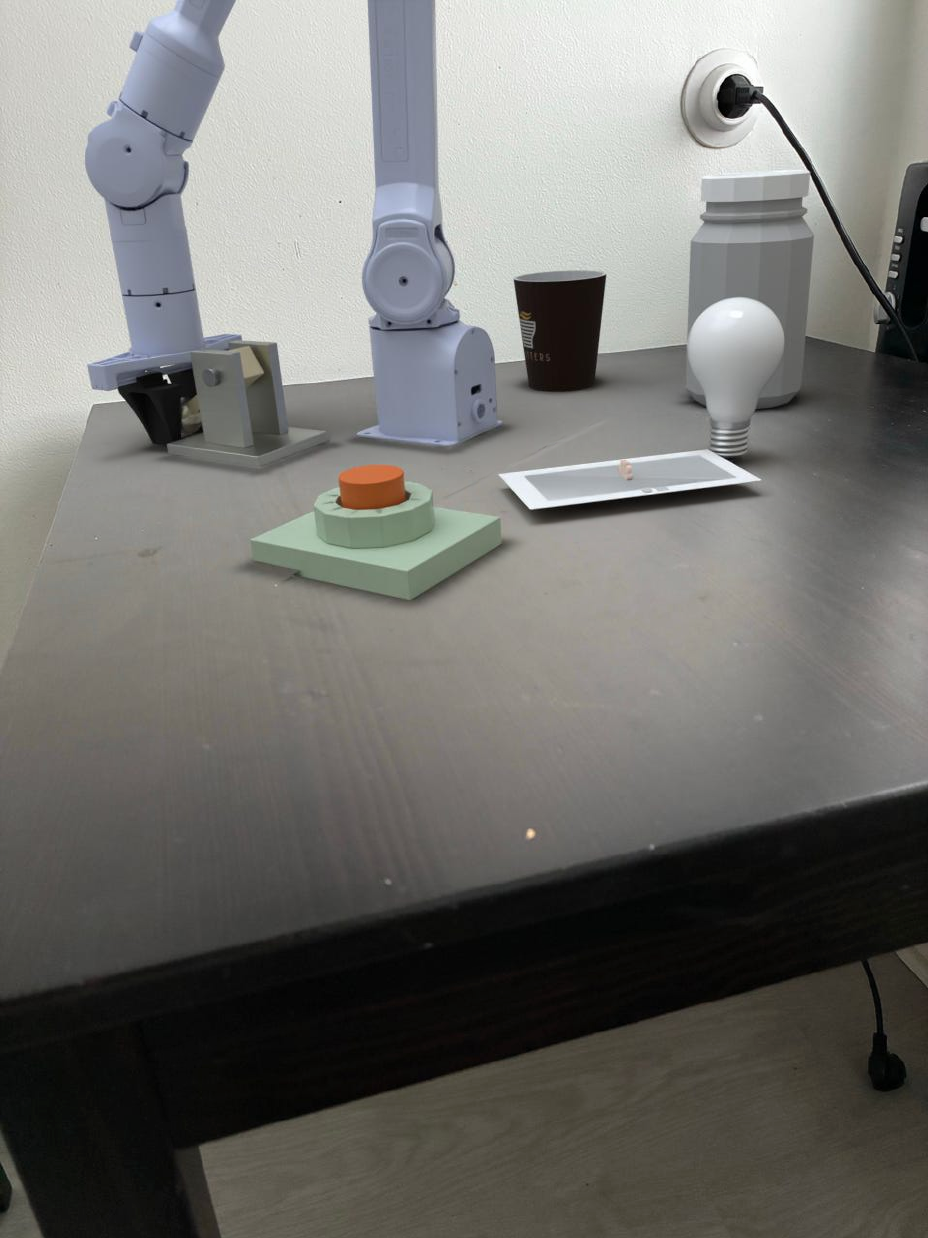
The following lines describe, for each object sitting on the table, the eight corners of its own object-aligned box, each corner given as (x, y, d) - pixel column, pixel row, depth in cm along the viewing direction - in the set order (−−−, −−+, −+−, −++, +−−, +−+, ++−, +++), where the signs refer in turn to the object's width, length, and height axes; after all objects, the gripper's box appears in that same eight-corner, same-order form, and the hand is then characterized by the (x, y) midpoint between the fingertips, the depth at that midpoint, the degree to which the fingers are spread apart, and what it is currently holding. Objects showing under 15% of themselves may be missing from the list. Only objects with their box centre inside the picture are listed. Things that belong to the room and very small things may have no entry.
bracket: (168, 458, 79) (149, 352, 76) (240, 434, 85) (225, 335, 82) (260, 472, 74) (243, 359, 71) (329, 445, 80) (317, 340, 77)
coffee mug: (611, 390, 93) (611, 277, 88) (518, 395, 93) (514, 283, 89) (597, 367, 103) (597, 265, 99) (514, 371, 103) (511, 270, 99)
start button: (418, 498, 56) (416, 468, 55) (379, 517, 53) (376, 486, 53) (368, 490, 58) (365, 461, 57) (328, 509, 55) (324, 478, 55)
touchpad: (498, 489, 67) (497, 458, 66) (706, 464, 69) (708, 434, 69) (530, 526, 60) (529, 492, 59) (760, 497, 62) (763, 463, 62)
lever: (171, 443, 82) (153, 411, 82) (198, 435, 85) (181, 403, 84) (242, 383, 75) (223, 347, 75) (270, 375, 77) (251, 340, 77)
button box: (501, 544, 57) (499, 486, 56) (410, 601, 51) (404, 537, 49) (354, 519, 63) (348, 465, 62) (254, 567, 56) (244, 508, 55)
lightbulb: (781, 451, 72) (795, 291, 67) (766, 475, 66) (780, 304, 62) (692, 445, 74) (700, 291, 69) (672, 468, 69) (679, 303, 64)
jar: (663, 396, 89) (668, 177, 82) (752, 382, 92) (765, 170, 85) (730, 417, 81) (744, 175, 73) (826, 400, 84) (848, 167, 77)
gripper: (193, 279, 86) (217, 434, 92) (48, 302, 75) (86, 476, 81) (252, 281, 82) (273, 441, 88) (109, 305, 72) (144, 487, 77)
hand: (187, 459), depth 84 cm, fingers closed on lever, 3 cm apart
